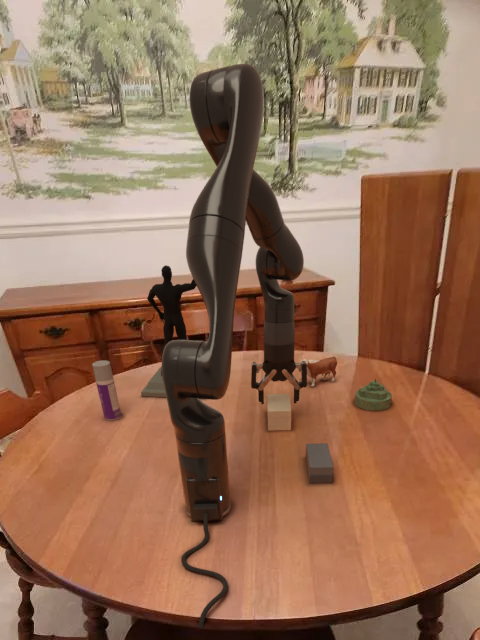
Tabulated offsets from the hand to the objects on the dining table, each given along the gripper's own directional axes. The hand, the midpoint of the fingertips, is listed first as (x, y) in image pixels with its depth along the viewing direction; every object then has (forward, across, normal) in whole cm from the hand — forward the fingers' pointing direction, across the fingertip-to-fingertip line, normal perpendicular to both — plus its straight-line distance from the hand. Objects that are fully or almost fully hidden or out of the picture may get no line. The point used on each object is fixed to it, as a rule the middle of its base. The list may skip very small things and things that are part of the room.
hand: (278, 402), depth 128 cm
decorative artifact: (+5, +27, +10) cm, 29 cm away
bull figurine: (+5, +13, +26) cm, 30 cm away
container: (+5, -46, +5) cm, 47 cm away
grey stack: (+5, +8, -26) cm, 28 cm away
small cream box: (+5, 0, 0) cm, 5 cm away
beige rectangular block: (+2, 0, 0) cm, 2 cm away
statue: (+5, -29, +27) cm, 40 cm away
